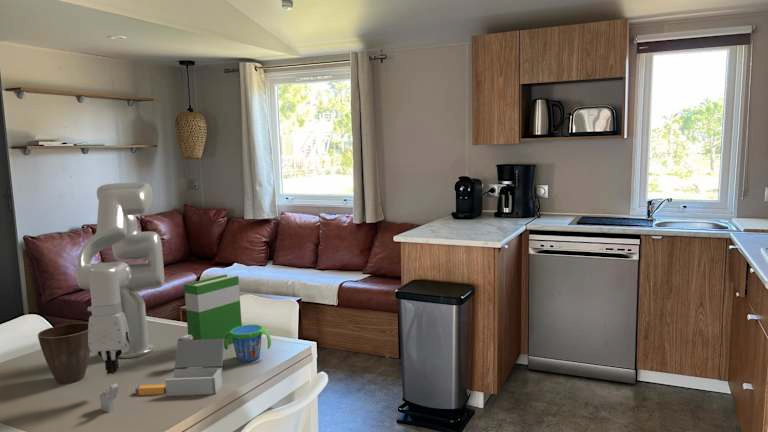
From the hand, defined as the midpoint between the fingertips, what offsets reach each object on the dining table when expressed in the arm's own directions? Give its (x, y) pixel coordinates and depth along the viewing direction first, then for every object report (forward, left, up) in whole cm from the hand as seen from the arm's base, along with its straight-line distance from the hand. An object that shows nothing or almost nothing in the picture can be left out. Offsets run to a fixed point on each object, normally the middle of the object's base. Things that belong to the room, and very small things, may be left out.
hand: (112, 372), depth 162 cm
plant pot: (-20, +14, -7) cm, 25 cm away
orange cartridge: (+11, +1, -7) cm, 13 cm away
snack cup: (+33, +26, -7) cm, 42 cm away
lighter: (+4, -10, -7) cm, 13 cm away
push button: (+14, +21, -7) cm, 26 cm away
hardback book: (+18, +41, -7) cm, 45 cm away
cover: (+23, +8, +2) cm, 24 cm away
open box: (+23, +2, -7) cm, 24 cm away
